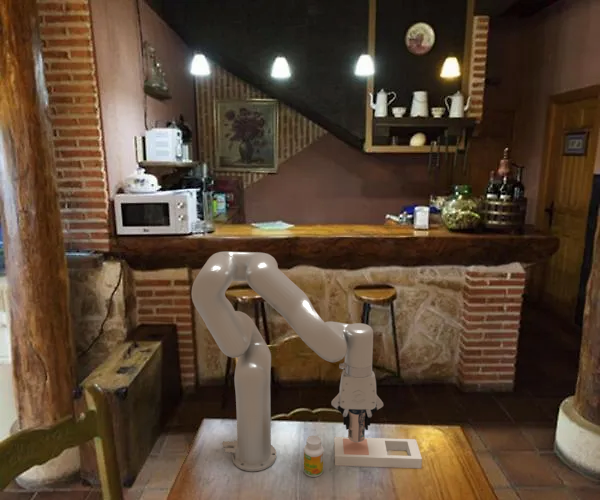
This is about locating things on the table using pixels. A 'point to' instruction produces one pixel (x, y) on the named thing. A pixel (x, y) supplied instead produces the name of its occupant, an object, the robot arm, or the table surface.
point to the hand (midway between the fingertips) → (356, 426)
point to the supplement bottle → (313, 456)
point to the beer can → (356, 425)
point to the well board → (376, 453)
